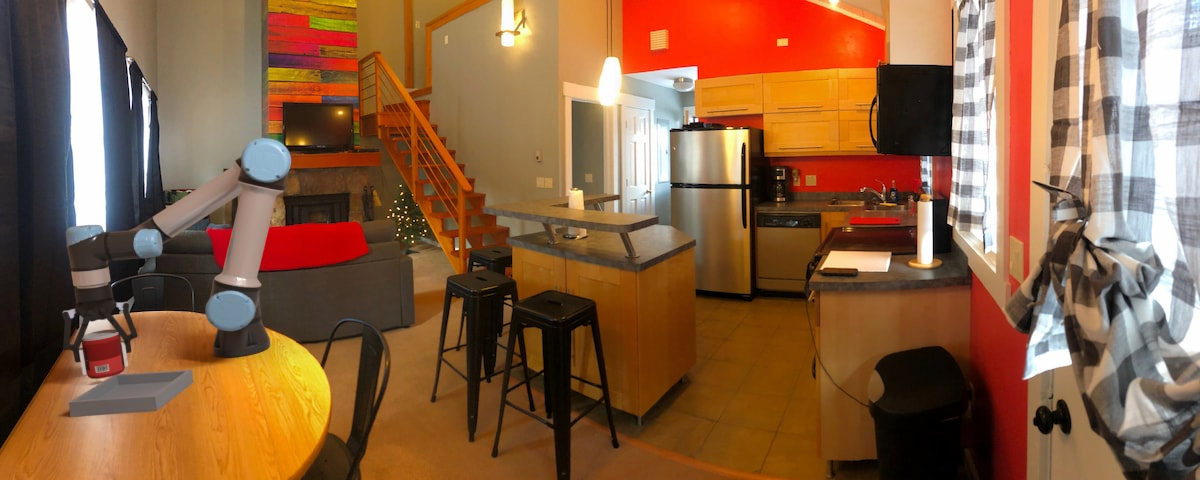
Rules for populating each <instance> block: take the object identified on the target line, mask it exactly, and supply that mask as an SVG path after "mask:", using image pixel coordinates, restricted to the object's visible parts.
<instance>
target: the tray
mask: <svg viewBox="0 0 1200 480" xmlns="http://www.w3.org/2000/svg"><path fill="white" fill-rule="evenodd" d="M192 384H194V374H193V370H192V369H182V370H168V371H153V372H151V371H150V372H149V371H148V372H135V373H133V372H132V373H120V374H116V375H114V376H111V377H108V378H107V379H106V380H104V381H102V382H101V383H99V384H97V385H95V386H93V387H92V388H90V389H89V390H87V391H85V392H84V393H82V394H81V395H80V394H79V396H77V397H75V398H73V399H72V400H70V401H68V409H69V415H70V418H74V417H75V418H76V417H77V418H78V417H87V416H88V417H90V416H104V415H117V414H131V413H132V414H133V413H144V412H157V411H159V410H160V409H162V408H163V407H164V406H165V405H166V404H168V403H169V402H171V401H172V400H173V399H175V397H177V396H178V395H180V394H181V393H182V392H183V391H185V390H186V389H187V388H188V387H189V386H191V385H192Z"/></svg>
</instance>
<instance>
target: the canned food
mask: <svg viewBox="0 0 1200 480" xmlns="http://www.w3.org/2000/svg"><path fill="white" fill-rule="evenodd" d="M121 341H122V337H121V336H120V335H119V333H118V332H117V331H116V330H115V329H103V330H102V329H101V330H97V331H96V330H95V331H92V332H89V333H85V334H84V337H83V338H82V342H81V348H83V354H84V360H85V366H86V372H87V374H86V375H87V377H88V379H91V380H92V379H93V380H97V379H98V380H99V379H104V378H110V377H112V376H114V375H116V374H123V372H124V371H125V368H126V367H125V365H124V358H123V352H122V345H121Z"/></svg>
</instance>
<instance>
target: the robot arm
mask: <svg viewBox="0 0 1200 480" xmlns="http://www.w3.org/2000/svg"><path fill="white" fill-rule="evenodd" d="M291 165H292V155H291V152H290V150H289V149H288V148H287V146H285V144H283V143H282V142H280V141H279V140H276V139H273V138H268V137H262V138H261V137H260V138H257V139H254V140H252V141H250V142H249V143H248V144H247V145H246V146H245V147H244V149H243V150H242V152H241V156H240V157H237V158H236V159H235V160H234V161H233V165H232V166H230V168H227V169H226V170H224V171H223V172H222V173H220V174H218V175H217V176H214V177H213V178H212V179H210V180H208V181H207V182H206V183H205V184H203V185H201V186H199V187H198V188H196V189H195V190H193V191H191V192H189V194H187V195H185V196H184V197H182V198H180V199H179V200H177V201H176V202H174V203H172V204H171V205H169V206H167V207H166V208H164V209H162V210H161V211H160V212H158V213H157V214H155V215H153V216H152V217H150V218H148V219H147V220H146V221H143V222H142V223H141V224H139V225H137V226H136V227H133V228H132V229H129V230H121V231H120V230H119V231H118V230H117V231H105V230H104V229H103V226H102V225H100V224H87V225H74V226H71V227H68V228H67V229H66V231H65V237H66V245H65V246H66V248H67V253H68V259H69V264H70V268H71V269H70V270H71V278H72V284H73V285H72V286H74V287H75V288H74V290H73V291H74V296H75V303H76V305H75V306H74V307H75V308H72V309H69V310H66V309H64V310H63V311H62V313H61V314H62V317H63V320H64V328H63V329H64V331H63V342H62V343H63V345H62V349H63V350H64V351H72V352H73V358H74V362H75V363H76V364H78V363H80V366H81V371H82V376H85V375H87V372H86V366H85V360H84V354H83V348H82V347H80V346H82V338H83V337H84V335H85V334H86V331H87V329H88V326H89V323H90V322H91V323H92V322H96V321H105V320H107V321H108V322H109V324H110V325H111V326H112V328H114V330H116V331H117V332H118V333H119V335H120V338H121V339H122V340H121V345H122V352H123V358H124V365H125V368H126V367H129V362H128V355H127V354H131V353H132V346H131V342H132V340H134V339H137V338H138V336H139V335H138V332H137V330H136V327H135V324H134V322H133V319H132V316H131V313H130V311H129V309H130V304H129V302H128V301H124V302H117V301H116V300H115V299H114V294H113V288H112V284H111V283H110V282H111V275H110V269H109V268H110V267H109V261H122V260H123V261H124V260H135V259H137V260H139V259H146V260H147V259H148V258H149V259H150V258H157V257H160V256H161V254H162V252H163V248H164V247H163V245H164V244H166V243H167V242H169V241H171V240H172V239H173V238H174V237H176V236H178V235H180V233H182V232H184V231H185V230H187V229H189V228H190V227H191V226H193V225H194V224H196V223H198V222H199V221H201V220H203V219H204V218H205V217H207V216H209V215H210V214H211V213H214V212H216V211H217V210H218V209H219V208H221V207H223V206H224V205H226V204H227V203H229V202H230V201H232V200H234V199H236V198H237V197H239V196H240V198H239V201H238V206H237V209H236V213H235V218H234V221H233V226H232V231H231V235H230V240H229V244H228V247H227V250H226V251H227V252H226V257H225V260H224V265H223V269H222V272H221V273H219V274H217V275H216V276H215V277H214V278H213V280H212V288H211V291H210V296H209V299H208V300H207V302H206V304H205V308H204V311H205V316H206V319H207V321H208V322H209V323H210V325H212V327H214V328H216V333H215V337H214V341H213V345H212V352H213V356H216V357H219V358H237V357H245V356H250V355H254V354H257V353H261V352H264V351H265V350H268V349H269V348H270V347H271V338H270V336H269V334H268V331H267V330H266V327H265V326H264V324H263V321H262V311H261V310H262V309H261V301H260V293H261V289H262V283H261V282H260V280H259V279H258V275H259V270H260V267H261V262H262V258H263V255H264V254H263V253H264V250H265V245H266V241H267V237H268V233H269V229H270V225H271V221H272V216H273V213H274V212H273V211H274V209H275V208H274V207H275V204H276V200H277V197H278V196H279V195H281V194H282V193H283V192H285V189H286V185H287V184H286V183H287V179H288V175H289V171H290V168H291ZM116 308H118V309H119V311H121V312H122V315H123V316H124V319H125V322H126V324H127V327H128V330H129V332H130V333H129V334H128V333H127V332H126V331H125V330H124V328H123V327H122V325H121V324H120V323H119V322H118V321H117V319H116V318H115V317H114V315H113V314H112V313H113V312H114V311H115V309H116ZM75 314H77V315H79V316H81V317H82V321H81V324H80V327H79V330H78V332H77V335H76V338H75V340H74V342H73V343H72V344H71V329H72V328H71V327H72V319H74V317H75Z"/></svg>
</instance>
